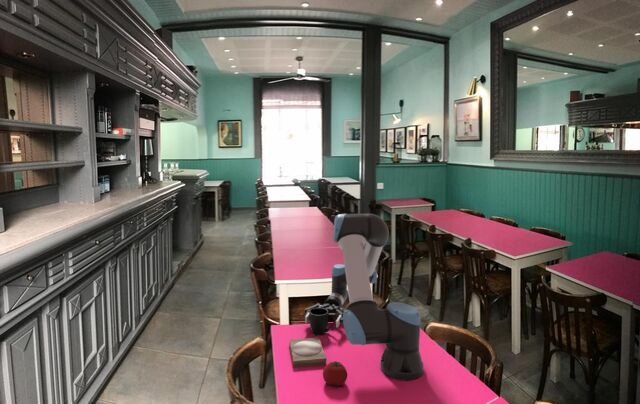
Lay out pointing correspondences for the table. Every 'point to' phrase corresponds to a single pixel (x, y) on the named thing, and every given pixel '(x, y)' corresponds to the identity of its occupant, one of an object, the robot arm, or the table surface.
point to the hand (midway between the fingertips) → (321, 322)
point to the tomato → (335, 373)
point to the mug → (320, 320)
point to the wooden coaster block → (307, 352)
